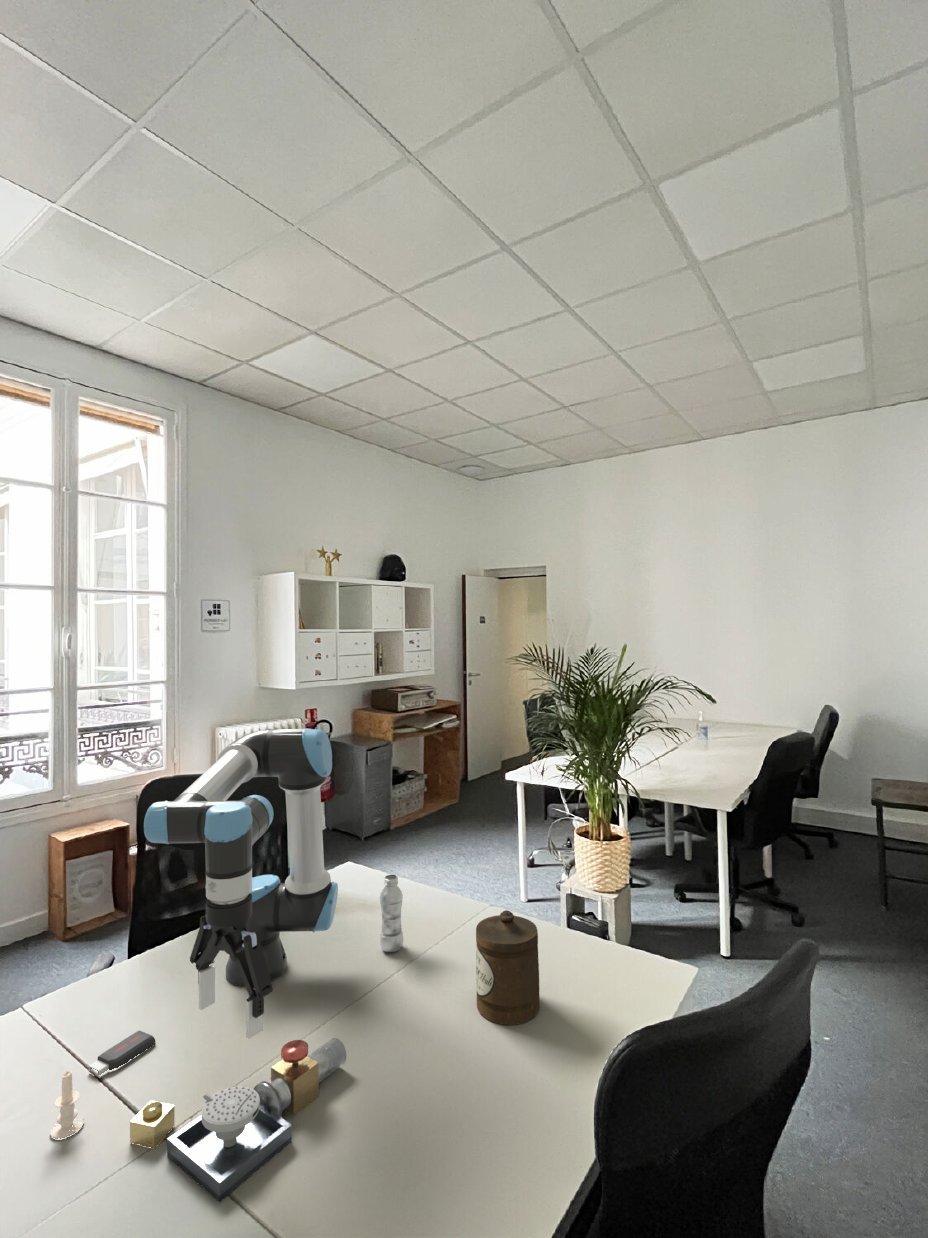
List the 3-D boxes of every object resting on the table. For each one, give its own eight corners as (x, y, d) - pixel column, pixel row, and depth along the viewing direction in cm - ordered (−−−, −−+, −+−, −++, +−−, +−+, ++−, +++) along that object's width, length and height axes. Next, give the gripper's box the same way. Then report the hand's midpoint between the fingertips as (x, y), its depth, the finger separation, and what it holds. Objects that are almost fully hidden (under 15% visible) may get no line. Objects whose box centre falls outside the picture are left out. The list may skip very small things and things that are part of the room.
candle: (47, 1145, 110) (47, 1084, 110) (53, 1123, 114) (53, 1065, 115) (81, 1135, 112) (81, 1076, 112) (86, 1114, 117) (86, 1057, 117)
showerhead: (219, 1076, 115) (269, 1084, 113) (217, 1118, 114) (268, 1127, 112) (186, 1113, 105) (241, 1122, 103) (185, 1158, 105) (240, 1168, 103)
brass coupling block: (130, 1144, 110) (129, 1116, 110) (150, 1122, 115) (150, 1096, 115) (154, 1150, 109) (154, 1122, 109) (174, 1127, 113) (174, 1101, 113)
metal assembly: (167, 1160, 107) (167, 1100, 107) (313, 1054, 133) (312, 1006, 133) (219, 1206, 98) (219, 1141, 98) (364, 1084, 124) (364, 1032, 125)
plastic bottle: (407, 945, 177) (406, 874, 177) (397, 957, 171) (396, 883, 171) (386, 942, 179) (386, 871, 179) (375, 953, 173) (375, 880, 173)
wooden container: (476, 987, 156) (476, 898, 157) (536, 988, 156) (536, 898, 156) (476, 1025, 141) (475, 927, 142) (542, 1026, 141) (541, 927, 141)
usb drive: (155, 1046, 136) (155, 1033, 136) (102, 1082, 125) (102, 1068, 125) (139, 1039, 138) (139, 1027, 138) (85, 1074, 128) (85, 1060, 128)
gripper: (168, 886, 113) (169, 1005, 113) (256, 923, 99) (256, 1060, 99) (206, 872, 119) (207, 985, 119) (294, 906, 105) (295, 1034, 105)
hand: (229, 1019), depth 109 cm, fingers open, 13 cm apart
